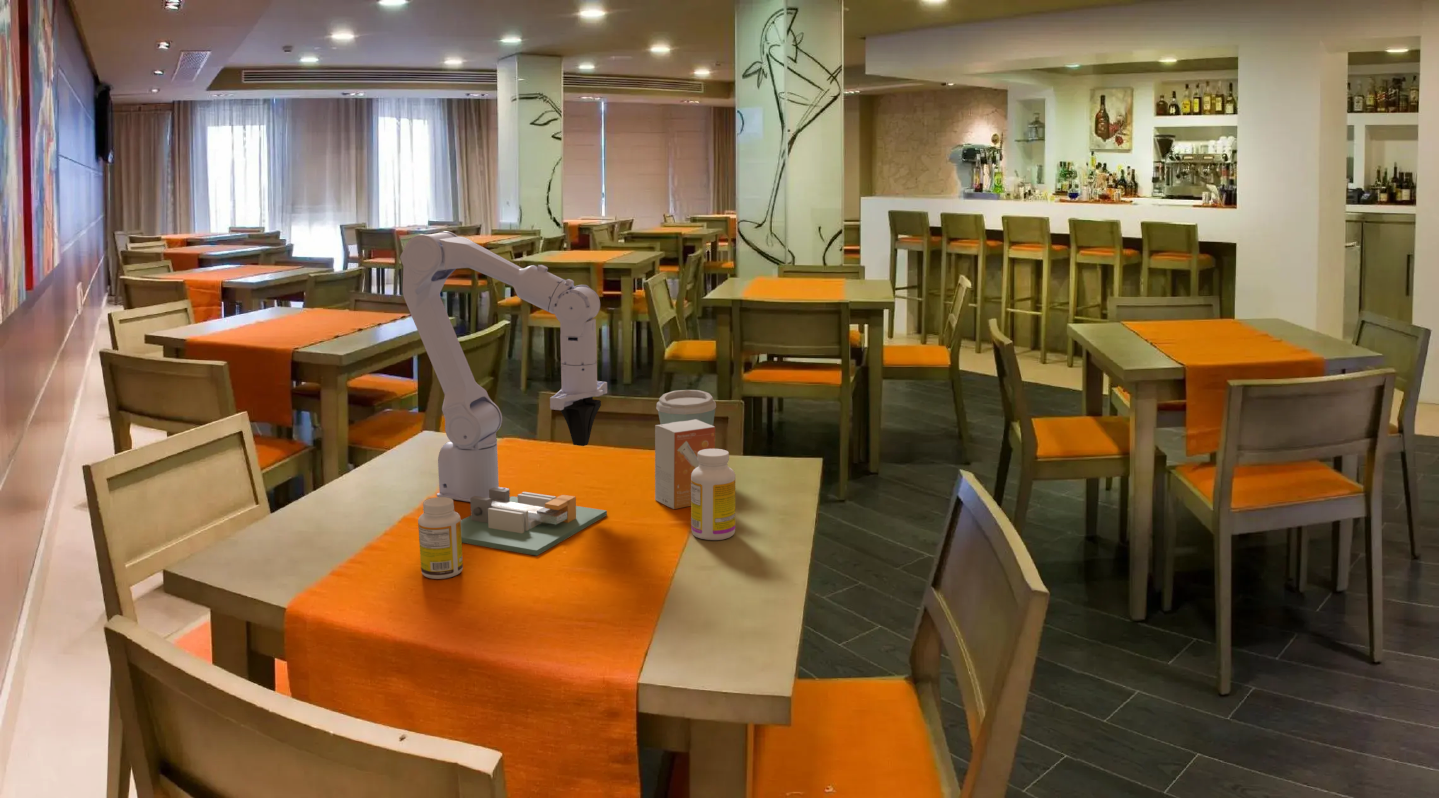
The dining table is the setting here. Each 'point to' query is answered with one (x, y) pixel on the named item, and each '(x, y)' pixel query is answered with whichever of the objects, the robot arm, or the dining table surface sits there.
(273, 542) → the dining table surface
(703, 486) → the supplement bottle
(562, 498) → the lug slider
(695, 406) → the disposable coffee cup
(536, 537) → the socket base
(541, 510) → the white stepped bar
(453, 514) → the supplement bottle
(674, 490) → the small box
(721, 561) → the dining table surface
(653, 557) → the dining table surface
